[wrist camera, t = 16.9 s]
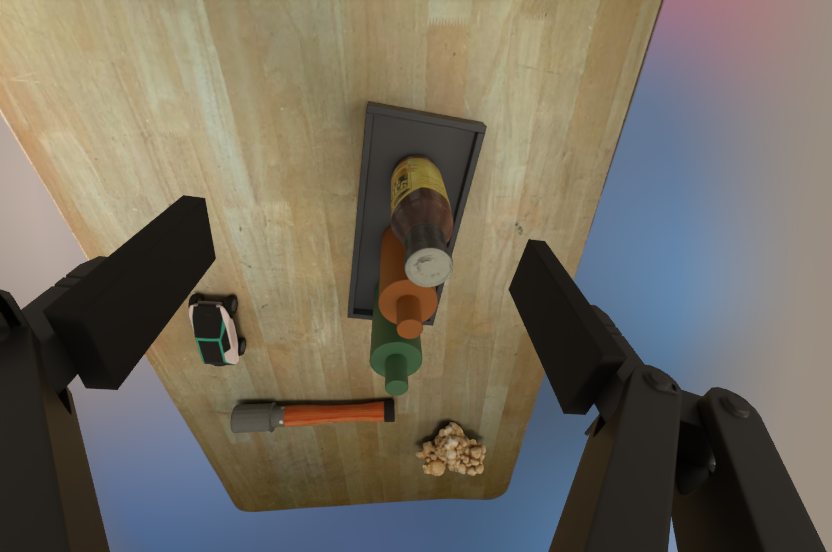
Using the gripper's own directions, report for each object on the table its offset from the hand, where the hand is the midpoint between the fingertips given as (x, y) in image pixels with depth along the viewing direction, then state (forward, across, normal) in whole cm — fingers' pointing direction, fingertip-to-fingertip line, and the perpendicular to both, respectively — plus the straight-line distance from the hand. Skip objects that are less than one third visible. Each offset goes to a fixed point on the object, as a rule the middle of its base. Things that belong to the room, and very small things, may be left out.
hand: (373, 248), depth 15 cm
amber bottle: (+30, +5, -16) cm, 35 cm away
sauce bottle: (+31, +5, -8) cm, 32 cm away
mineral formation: (+31, +23, -66) cm, 76 cm away
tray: (+31, +5, -15) cm, 35 cm away
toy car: (+31, -22, -35) cm, 52 cm away
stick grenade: (+31, -7, -55) cm, 64 cm away
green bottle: (+30, +5, -26) cm, 40 cm away
